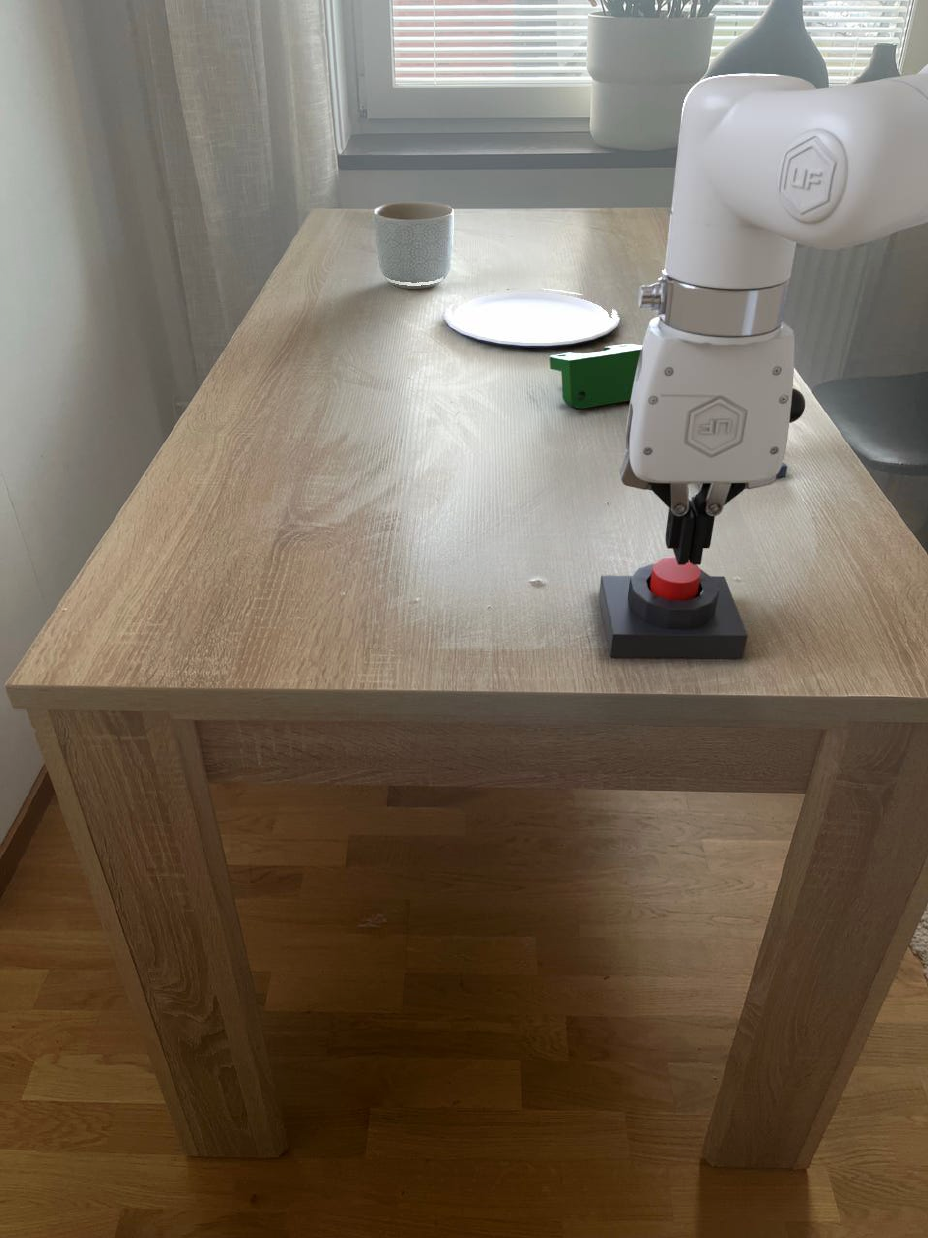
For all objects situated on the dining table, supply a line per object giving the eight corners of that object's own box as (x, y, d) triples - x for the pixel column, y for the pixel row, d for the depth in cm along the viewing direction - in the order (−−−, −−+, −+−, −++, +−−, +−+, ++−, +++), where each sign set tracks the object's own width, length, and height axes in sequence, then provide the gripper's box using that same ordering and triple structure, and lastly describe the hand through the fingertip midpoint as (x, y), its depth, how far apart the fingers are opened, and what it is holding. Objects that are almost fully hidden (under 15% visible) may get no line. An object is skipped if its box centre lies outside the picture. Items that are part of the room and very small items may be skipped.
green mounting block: (616, 420, 115) (639, 347, 113) (641, 427, 110) (667, 351, 107) (533, 395, 110) (557, 318, 107) (556, 401, 104) (581, 320, 102)
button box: (720, 598, 76) (728, 557, 74) (742, 658, 69) (752, 615, 67) (598, 597, 76) (603, 556, 74) (609, 657, 69) (614, 614, 67)
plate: (409, 316, 134) (409, 307, 133) (539, 285, 146) (539, 277, 145) (520, 367, 118) (521, 357, 117) (656, 327, 130) (657, 318, 129)
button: (692, 576, 72) (696, 557, 71) (701, 602, 69) (705, 583, 68) (646, 575, 72) (649, 556, 71) (653, 602, 69) (656, 583, 68)
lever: (804, 428, 84) (816, 399, 81) (772, 432, 83) (783, 402, 81) (744, 350, 92) (754, 321, 90) (715, 353, 92) (723, 324, 89)
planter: (365, 277, 149) (361, 205, 143) (435, 268, 154) (434, 198, 147) (393, 299, 140) (390, 223, 134) (467, 288, 145) (467, 214, 138)
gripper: (609, 323, 55) (589, 583, 65) (862, 321, 55) (801, 582, 65) (596, 288, 61) (579, 530, 71) (823, 285, 61) (773, 529, 71)
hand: (685, 554), depth 68 cm, fingers closed
